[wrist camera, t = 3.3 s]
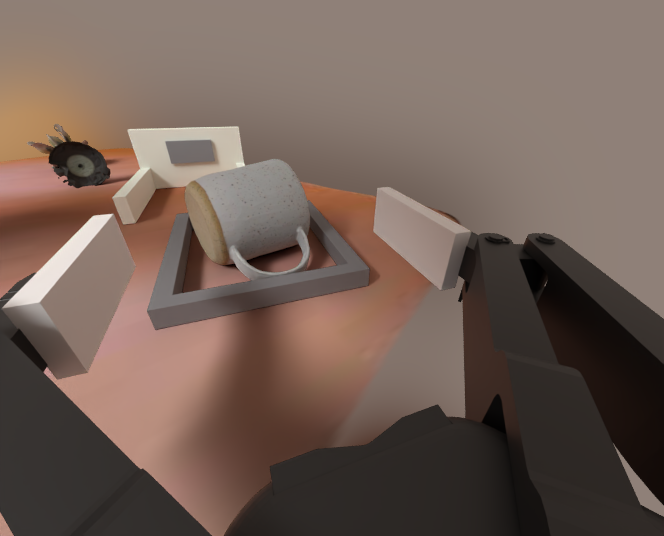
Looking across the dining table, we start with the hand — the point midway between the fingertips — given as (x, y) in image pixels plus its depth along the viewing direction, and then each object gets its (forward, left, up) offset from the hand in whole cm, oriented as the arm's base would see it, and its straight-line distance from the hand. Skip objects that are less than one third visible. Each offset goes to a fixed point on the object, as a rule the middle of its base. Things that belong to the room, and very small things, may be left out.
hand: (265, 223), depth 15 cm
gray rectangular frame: (0, +10, -6) cm, 12 cm away
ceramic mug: (0, +8, -7) cm, 11 cm away
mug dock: (-6, +28, -6) cm, 29 cm away
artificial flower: (-27, +49, -7) cm, 56 cm away
